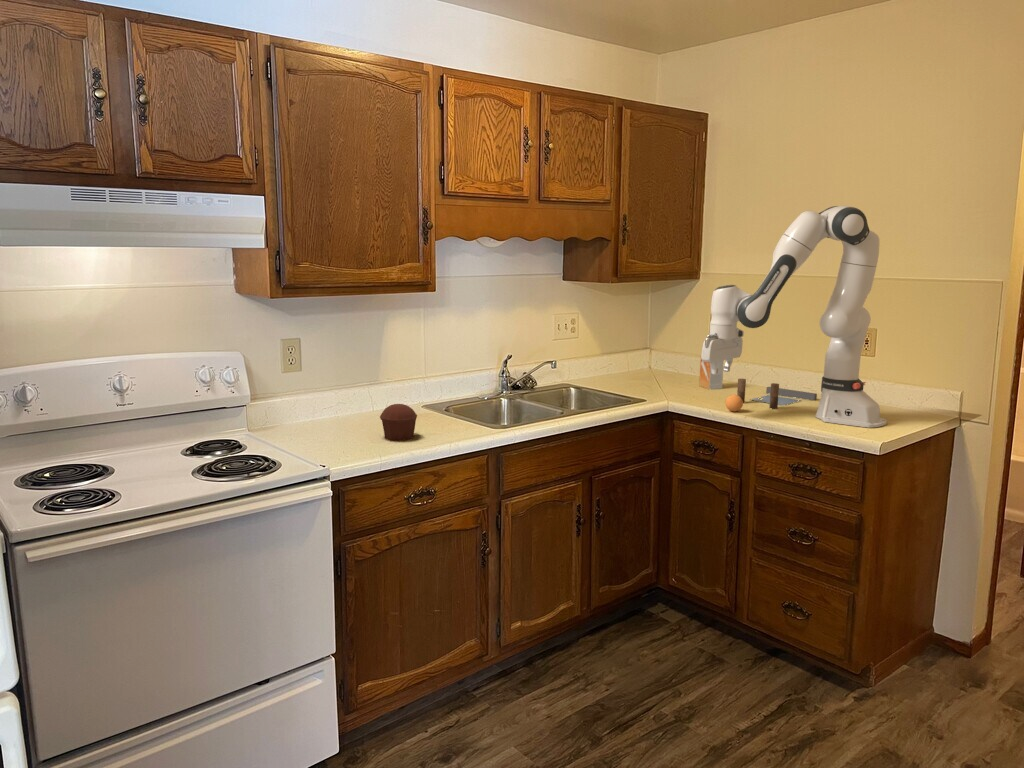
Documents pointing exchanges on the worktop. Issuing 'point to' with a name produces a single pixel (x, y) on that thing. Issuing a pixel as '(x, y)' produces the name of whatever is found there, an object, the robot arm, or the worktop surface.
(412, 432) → the muffin
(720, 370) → the small box
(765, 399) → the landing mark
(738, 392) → the post
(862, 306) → the robot arm
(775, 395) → the post
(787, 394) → the wall
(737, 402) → the ball
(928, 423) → the worktop surface
